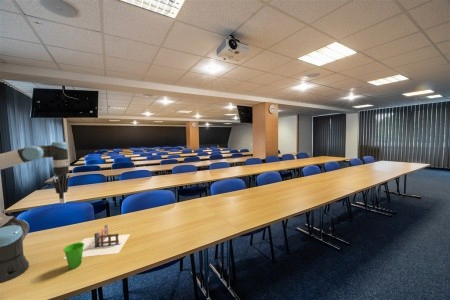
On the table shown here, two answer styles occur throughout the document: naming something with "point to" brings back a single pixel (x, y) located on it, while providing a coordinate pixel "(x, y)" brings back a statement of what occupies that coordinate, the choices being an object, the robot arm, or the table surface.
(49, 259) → the table surface
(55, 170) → the robot arm
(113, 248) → the card
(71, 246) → the cup
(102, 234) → the fence swing
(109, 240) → the fence fixed
